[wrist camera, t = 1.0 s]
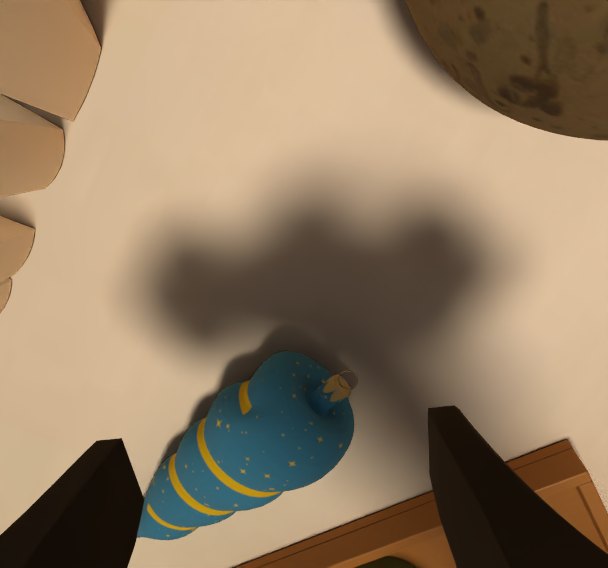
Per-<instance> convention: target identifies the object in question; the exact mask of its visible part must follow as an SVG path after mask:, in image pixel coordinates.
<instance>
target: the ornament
mask: <svg viewBox="0 0 608 568" xmlns="http://www.w3.org/2000/svg"><path fill="white" fill-rule="evenodd" d="M344 372H350V373H352V374H354V375H355V373H353V372H351V371H343V372H341V373H340V375H341V374H342V373H344ZM340 375H338V374H336V375H333V376H332V375H331V374H330V373H329V372H328V371H327V370H326V369H325V368H324V367H323V366H322V365H321V364H319V363H318V362H316V361H315V360H313V359H312V358H310V357H308V356H306V355H303V354H301V353H298V352H293V351H282V352H279V353H276V354H273V355H272V356H270V357H269V358H268V359H267V360H265V361H264V363H263V364H262V365H261V366H260V367H259V368H258V369H257V371H256V372H255V374H254V375H253V377H252V378H251V380H250V381H241V382H237V383H234V384H231V385H230V386H228V387H226V388H225V389H223V390H222V391H221V393H220V394H219V395H218V396H217V397H216V399H215V400H214V402H213V404H212V406H211V408H210V410H209V413H208V415H207V417H206V418H203V419H201V420H199V421H197V422H196V423H195V424H193V425H192V426H191V427H190V428H189V429H188V430H187V432H186V433H185V435H184V436H183V438H182V440H181V442H180V445H179V448H178V450H177V453H175V454H173V455H171V456H170V457H168V458H167V459H166V460H165V461H164V462H163V463H162V464H161V466H160V467H159V469H158V470H157V472H156V474H155V476H154V478H153V480H152V482H151V484H150V487H149V489H148V491H147V493H146V496H145V498H144V505H143V510H142V515H141V520H140V525H139V529H138V534H137V537H146V538H152V539H158V540H173V539H178V538H181V537H184V536H186V535H188V534H190V533H191V532H193V531H194V530H195V529H197V528H198V527H200V526H207V525H211V524H214V523H218V522H220V521H222V520H224V519H226V518H228V517H230V516H231V515H233V514H234V513H235V512H236V511H242V510H250V509H253V508H257V507H261V506H264V505H266V504H267V503H269V502H271V501H273V500H275V499H276V498H277V497H279V496H280V495H281V494H282V493H283V492H284V491H289V490H294V489H297V488H301V487H305V486H307V485H309V484H311V483H313V482H315V481H317V480H319V479H321V478H322V477H323V476H325V475H326V474H327V473H328V472H329V471H331V470H332V469H333V468H334V467H335V466H336V465H337V463H338V462H339V461H340V460H341V458H342V457H343V456H344V454H345V452H346V451H347V449H348V447H349V445H350V443H351V440H352V437H353V433H354V416H353V411H352V408H351V405H350V402H349V400H348V398H347V396H348V395H349V394H350V389H353V388H355V387H356V385H357V383H358V379H357V376H356V375H355V377H356V379H357V383H356V385H355V386H354V387H352V388H349V386H348V383H347V382H346V380H345V379H343V378H342V377H341V376H340Z"/></svg>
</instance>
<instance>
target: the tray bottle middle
mask: <svg viewBox="0 0 608 568" xmlns="http://www.w3.org/2000/svg"><path fill="white" fill-rule="evenodd" d="M354 568H416V567H415V566H414V565H412V564H411V563H409V562H407V561H404V560H402V559H399V558H394V557H382V558H379V559H376V560H373V561H371V562H368V563H365V564H362V565H360V566H357V567H354Z"/></svg>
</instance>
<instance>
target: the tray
mask: <svg viewBox="0 0 608 568" xmlns="http://www.w3.org/2000/svg"><path fill="white" fill-rule="evenodd" d="M507 465H508V466H509V467H510V468H511V469H512V470H513V471H514V472H515V473H516V474H517V475H518V476H519V477H520V478H521V479H522V480H523V481H524V482H525V483H526V484H527V485H528V486H529V487H530V488H531V489H532V490H533V491H534V492H536V493H537V494H538V495H539V496H540V497H541V498H542V499H543V500H544V501H545V502H546V503H547V504H548V505H549V506H551V507H552V508H553V509H554V510H555V511H556V512H557V513H558V514H560V515H561V516H562V517H563V518H564V519H565V520H566V521H568V522H569V523H570V524H571V525H572V526H573V527H575V528H576V529H577V530H578V531H580V532H581V533H582V534H583V535H584V536H586V537H587V538H588V539H589V540H591V541H592V542H593V543H594V544H596V545H597V546H598V547H599V548H601V549H602V550H603V551H605V552H606V553H607V554H608V513H607V511H606V509H605V507H604V505H603V503H602V500H601V498H600V496H599V494H598V492H597V490H596V487H595V485H594V483H593V481H592V480H591V477H590V475H589V473H588V471H587V469H586V468H585V466H584V465H583V463H582V462H581V460H580V459H579V457H578V456H577V454H576V453H575V451H574V450H573V448H572V447H571V445H570V444H569V442H568V441H567V440H564V441H562V442H559V443H556V444H554V445H551V446H549V447H546V448H543V449H541V450H538V451H536V452H533V453H530V454H528V455H525V456H523V457H520V458H518V459H515V460H512V461H510V462H507ZM382 557H394V558H399V559H402V560H404V561H407V562H409V563H411V564H412V565H414V566H415V567H416V568H457V567H456V564H455V561H454V558H453V555H452V552H451V550H450V547H449V544H448V541H447V538H446V535H445V532H444V529H443V526H442V523H441V520H440V517H439V513H438V509H437V505H436V501H435V496H434V492H433V491H432V492H430V493H427V494H424V495H422V496H419V497H417V498H414V499H411V500H409V501H406V502H404V503H401V504H399V505H396V506H393V507H391V508H388V509H386V510H383V511H380V512H378V513H375V514H373V515H370V516H367V517H365V518H362V519H360V520H357V521H355V522H352V523H349V524H347V525H344V526H342V527H339V528H336V529H334V530H331V531H329V532H326V533H323V534H321V535H318V536H316V537H313V538H311V539H308V540H305V541H303V542H300V543H298V544H295V545H292V546H290V547H287V548H285V549H282V550H279V551H277V552H274V553H272V554H269V555H267V556H264V557H261V558H259V559H256V560H254V561H251V562H248V563H246V564H243V565H241V566H238V567H235V568H354V567H357V566H360V565H362V564H365V563H368V562H371V561H373V560H376V559H379V558H382Z"/></svg>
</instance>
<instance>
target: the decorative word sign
mask: <svg viewBox="0 0 608 568" xmlns="http://www.w3.org/2000/svg"><path fill="white" fill-rule="evenodd" d="M100 52H101V47H100V44H99V42H98V39H97V37H96V34H95V32H94V30H93V27H92V25H91V23H90V20H89V18H88V16H87V14H86V12H85V10H84V8H83V6H82V3H81V1H80V0H0V197H5V196H10V195H15V194H20V193H25V192H30V191H35V190H40V189H45V188H46V187H47V186H48V185H49V184H50V183H51V182H52V181H53V179H54V178H55V176H56V175H57V173H58V171H59V169H60V167H61V164H62V160H63V155H64V135H63V130H62V129H61V128H59V127H57V126H56V125H54V124H52V123H50V122H49V121H47V120H45V119H44V118H42V117H40V116H38V115H37V114H35V113H33V112H31V111H30V110H28V109H26V108H24V107H23V106H21V105H19V104H17V103H15V102H14V101H12V100H10V99H8V98H7V97H5V96H8V97H11V98H13V99H16V100H18V101H21V102H24V103H26V104H29V105H31V106H34V107H37V108H39V109H42V110H44V111H47V112H50V113H52V114H55V115H57V116H60V117H62V118H65V119H68V120H70V121H73V120H74V118H75V117H76V115H77V113H78V111H79V109H80V107H81V105H82V103H83V101H84V99H85V97H86V94H87V92H88V90H89V87H90V85H91V82H92V79H93V76H94V73H95V70H96V67H97V63H98V60H99V56H100ZM1 94H3V95H5V96H3V95H1ZM34 232H35V229H33V228H30V227H28V226H25V225H22V224H20V223H17V222H15V221H12V220H9V219H7V218H4V217H2V216H0V312H1V311H2V309H3V308H4V306H5V304H6V302H7V300H8V297H9V294H10V289H11V279H9V277H10V276H12V275H14V274H15V273H16V272H17V271H18V270H19V269H20V267H21V266H22V265H23V263H24V262H25V260H26V259H27V257H28V255H29V252H30V250H31V247H32V243H33V239H34Z"/></svg>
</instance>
